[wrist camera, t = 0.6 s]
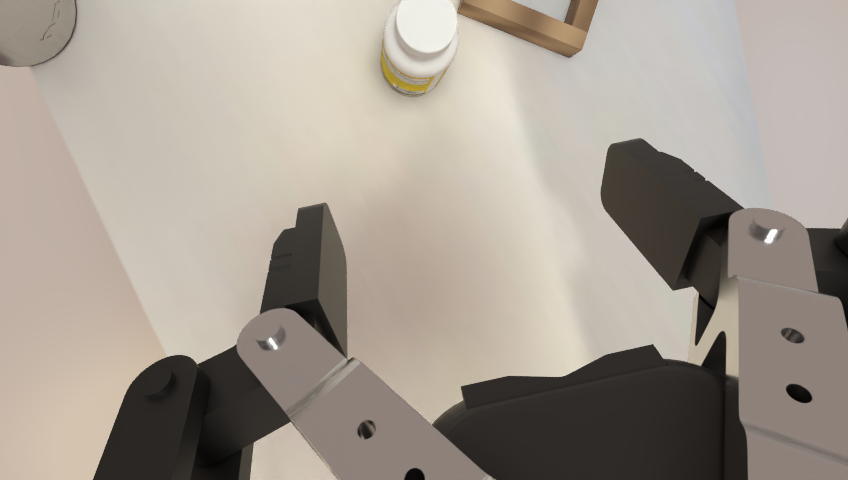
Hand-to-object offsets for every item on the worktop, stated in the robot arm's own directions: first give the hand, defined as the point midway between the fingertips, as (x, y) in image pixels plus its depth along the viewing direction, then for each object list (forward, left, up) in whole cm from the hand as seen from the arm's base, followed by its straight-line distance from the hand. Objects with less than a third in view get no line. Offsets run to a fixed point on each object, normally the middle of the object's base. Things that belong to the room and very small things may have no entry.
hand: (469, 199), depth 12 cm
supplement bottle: (-2, +11, -26) cm, 28 cm away
